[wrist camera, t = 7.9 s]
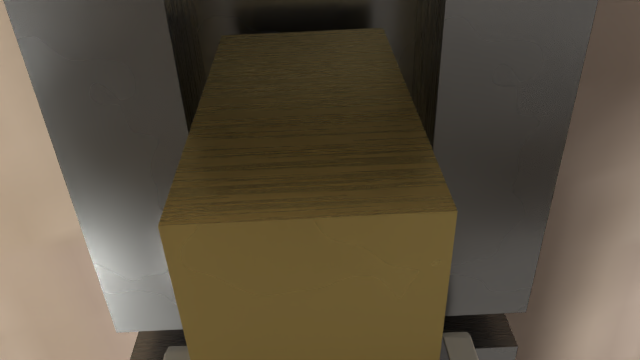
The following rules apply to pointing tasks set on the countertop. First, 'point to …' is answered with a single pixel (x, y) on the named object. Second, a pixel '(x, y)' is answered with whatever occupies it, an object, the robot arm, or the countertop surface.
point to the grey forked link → (300, 16)
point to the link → (484, 329)
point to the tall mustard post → (309, 206)
